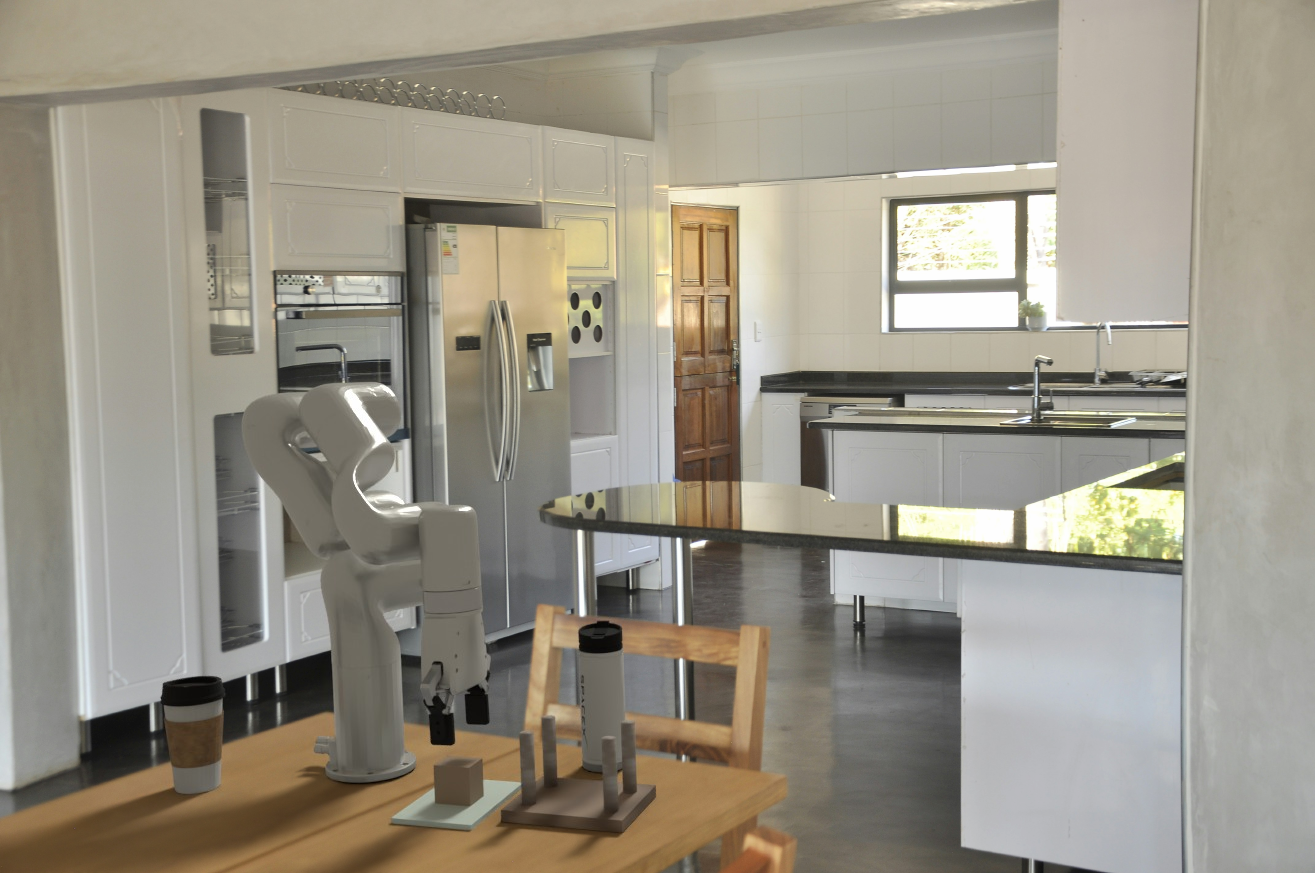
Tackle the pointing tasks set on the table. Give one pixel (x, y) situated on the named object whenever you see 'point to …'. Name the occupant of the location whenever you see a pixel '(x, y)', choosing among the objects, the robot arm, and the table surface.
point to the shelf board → (457, 812)
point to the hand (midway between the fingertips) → (461, 733)
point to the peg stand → (579, 787)
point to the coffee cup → (194, 731)
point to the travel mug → (601, 690)
